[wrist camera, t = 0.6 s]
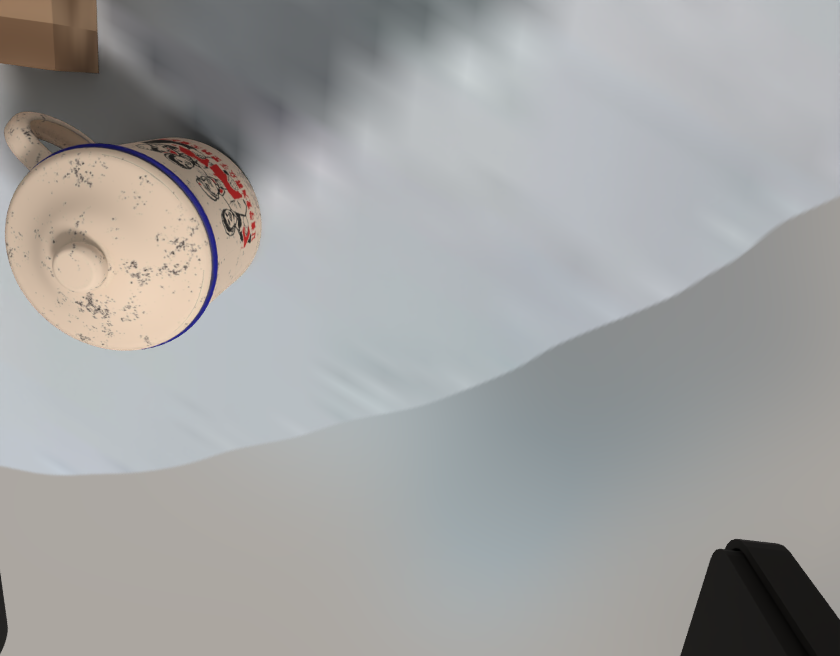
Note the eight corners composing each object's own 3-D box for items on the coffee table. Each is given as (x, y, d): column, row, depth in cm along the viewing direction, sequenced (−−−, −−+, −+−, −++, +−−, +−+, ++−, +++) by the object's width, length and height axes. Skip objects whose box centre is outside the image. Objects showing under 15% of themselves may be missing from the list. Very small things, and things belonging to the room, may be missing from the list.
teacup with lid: (301, 222, 36) (238, 278, 25) (195, 327, 39) (95, 419, 28) (132, 50, 34) (-20, 29, 23) (29, 173, 36) (-154, 208, 25)
